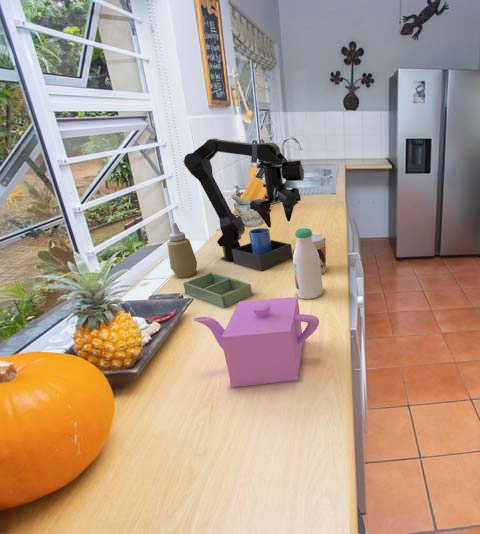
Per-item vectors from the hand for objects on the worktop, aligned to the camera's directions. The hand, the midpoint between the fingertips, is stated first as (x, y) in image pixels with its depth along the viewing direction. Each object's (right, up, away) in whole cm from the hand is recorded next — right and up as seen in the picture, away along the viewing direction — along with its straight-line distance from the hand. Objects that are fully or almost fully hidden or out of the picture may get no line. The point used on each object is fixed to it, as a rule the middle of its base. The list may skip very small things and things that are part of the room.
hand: (279, 224), depth 140 cm
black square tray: (-6, -13, +2) cm, 15 cm away
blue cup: (-6, -13, +2) cm, 14 cm away
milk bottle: (+17, -24, -23) cm, 37 cm away
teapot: (+14, -37, -55) cm, 68 cm away
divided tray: (-11, -24, -23) cm, 35 cm away
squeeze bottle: (-29, -18, -9) cm, 35 cm away
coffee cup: (+14, -17, -7) cm, 23 cm away
